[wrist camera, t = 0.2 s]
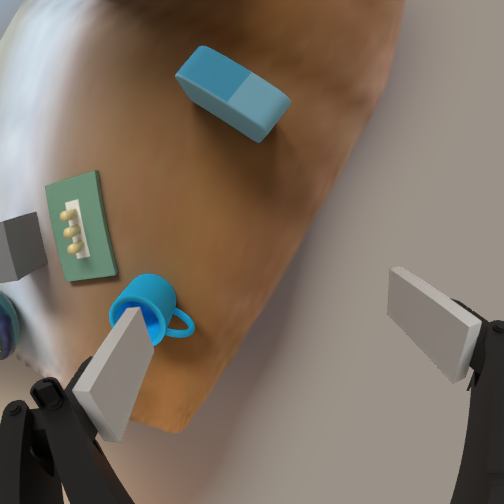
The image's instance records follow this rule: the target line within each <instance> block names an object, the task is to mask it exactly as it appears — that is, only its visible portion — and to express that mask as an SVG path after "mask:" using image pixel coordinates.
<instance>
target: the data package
mask: <svg viewBox="0 0 504 504" xmlns="http://www.w3.org/2000/svg"><path fill="white" fill-rule="evenodd" d="M175 77H176V79H177V81H178V82H179V84H180V85H181V87H182V89H183V90H184V92H185V93H186V95H187V97H188V98H189V99H190V100H191V101H193V102H194V103H196V104H197V105H199V106H200V107H202V108H204V109H205V110H207V111H209V112H210V113H212V114H213V115H215V116H216V117H218V118H220V119H221V120H223V121H224V122H226V123H227V124H229V125H230V126H232V127H233V128H235V129H236V130H238V131H239V132H241V133H242V134H244V135H245V136H247V137H248V138H250V139H251V140H253V141H255V142H257V143H261V142H262V140H263V139H264V138H265V137H266V136H267V135H268V134H269V132H270V131H271V130H272V128H273V127H274V126H275V124H276V123H277V122H278V120H279V119H280V118H281V116H282V115H283V114H284V113H285V111H286V110H287V109H288V107H289V106H290V105H291V102H290V99H289V98H288V97H287V96H286V95H285V94H284V93H283V92H281V91H280V90H279V89H277V88H276V87H274V86H273V85H271V84H270V83H268V82H267V81H265V80H264V79H262V78H260V77H259V76H257V75H256V74H254V73H253V72H251V71H249V70H248V69H246V68H244V67H243V66H241V65H239V64H238V63H236V62H234V61H233V60H231V59H229V58H227V57H226V56H224V55H222V54H220V53H219V52H217V51H215V50H213V49H211V48H209V47H207V46H199V47H198V48H197V50H196V51H195V52H194V53H193V54H192V55H191V56H190V58H189V59H188V60H187V61H186V62H185V64H184V65H183V66H182V67H181V68H180V70H179V71H178V72H177V73H176V75H175Z"/></svg>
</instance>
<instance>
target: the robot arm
mask: <svg viewBox="0 0 504 504" xmlns="http://www.w3.org/2000/svg"><path fill="white" fill-rule="evenodd" d="M387 314H388V315H389V317H390V318H391V319H392V320H393V321H394V322H395V323H396V324H397V325H398V326H399V327H400V328H401V329H402V330H403V331H404V332H405V333H406V334H407V335H408V336H409V337H410V338H411V339H412V340H413V341H414V342H415V343H416V345H417V346H419V348H420V349H421V350H422V351H423V352H424V353H425V354H426V355H427V356H428V357H429V358H430V359H431V360H432V362H433V363H434V364H435V365H436V366H437V367H438V368H439V369H440V370H441V371H442V373H443V374H444V375H445V376H446V377H447V378H448V379H449V380H450V381H451V383H455V382H457V381H459V380H461V379H463V378H465V377H466V374H467V371H468V369H469V366H470V367H471V368H472V369H473V370H474V372H473V375H472V378H471V380H470V383H469V386H468V388H467V391H469V389H470V387H471V398H470V408H469V418H468V425H467V432H466V439H465V445H464V450H463V455H462V460H461V465H460V469H459V474H458V478H457V482H456V485H455V489H454V492H453V496H452V499H451V503H450V504H504V321H500V320H496V321H492V322H490V323H489V322H488V321H487V320H485V319H484V318H483V317H481V316H480V315H478V314H477V313H476V312H474V311H472V310H471V309H470V308H468V307H467V306H465V305H464V304H463V303H461V302H460V301H457V300H454V299H451V298H448V297H447V296H445V295H444V294H442V293H441V292H439V291H438V290H436V289H435V288H433V287H432V286H430V285H429V284H427V283H426V282H424V281H423V280H421V279H420V278H418V277H417V276H415V275H414V274H412V273H411V272H409V271H407V270H406V269H404V268H403V267H395V268H390V269H389V291H388V308H387ZM153 353H154V348H153V345H152V343H151V340H150V337H149V334H148V331H147V328H146V324H145V321H144V318H143V315H142V312H141V308H140V307H133V308H127V309H126V310H125V312H124V313H123V314H122V316H121V317H120V319H119V320H118V321H117V323H116V324H115V326H114V327H113V329H112V330H111V332H110V333H109V334H108V336H107V337H106V339H105V340H104V342H103V343H102V345H101V346H100V348H99V349H98V351H97V352H96V354H95V355H94V357H89V358H88V359H87V360H85V361H84V362H83V363H82V364H81V366H80V367H79V369H78V371H77V372H76V373H75V375H74V377H73V378H72V379H71V381H70V382H69V384H68V385H67V387H66V388H65V390H63V388H62V387H61V385H60V383H59V381H58V380H57V379H56V378H53V377H47V378H44V379H41V380H39V381H37V382H36V383H35V384H34V385H33V386H32V388H31V390H30V394H31V396H32V397H33V399H34V401H35V402H36V404H37V405H38V407H39V408H37V409H29V407H28V406H27V404H26V403H25V402H24V401H22V400H16V401H12V402H11V403H9V404H8V405H7V406H6V408H5V409H4V411H3V415H2V420H1V423H0V504H64V501H63V493H62V484H63V487H64V490H65V492H66V495H67V497H68V500H69V502H70V504H135V503H134V502H133V500H132V499H131V497H130V496H129V494H128V493H127V491H126V490H125V488H124V487H123V485H122V484H121V482H120V481H119V479H118V477H117V476H116V474H115V472H114V470H113V469H112V467H111V465H110V464H109V462H108V460H107V459H106V456H105V455H104V453H103V451H102V449H101V447H100V445H99V443H98V442H97V441H96V440H95V437H96V435H97V432H98V433H99V434H100V435H101V437H102V438H103V440H104V441H110V442H119V443H121V441H122V438H123V434H124V432H125V428H126V426H127V423H128V420H129V417H130V415H131V412H132V409H133V406H134V403H135V401H136V398H137V395H138V392H139V390H140V387H141V384H142V382H143V379H144V377H145V374H146V371H147V369H148V366H149V364H150V361H151V358H152V356H153ZM61 482H62V483H61Z"/></svg>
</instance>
